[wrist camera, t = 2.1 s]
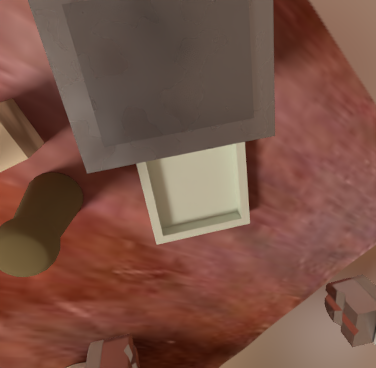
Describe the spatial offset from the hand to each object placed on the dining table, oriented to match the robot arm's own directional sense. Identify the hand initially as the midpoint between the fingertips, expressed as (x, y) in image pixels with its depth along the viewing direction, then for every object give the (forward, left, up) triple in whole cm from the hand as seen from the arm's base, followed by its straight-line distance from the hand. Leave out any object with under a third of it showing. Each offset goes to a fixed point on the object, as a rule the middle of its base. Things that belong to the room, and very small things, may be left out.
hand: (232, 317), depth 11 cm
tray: (+5, +2, -23) cm, 23 cm away
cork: (+3, -14, -23) cm, 27 cm away
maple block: (-5, -16, -23) cm, 28 cm away
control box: (-9, 0, -23) cm, 24 cm away
